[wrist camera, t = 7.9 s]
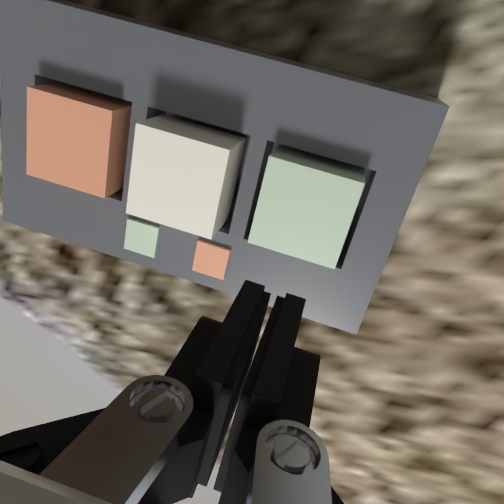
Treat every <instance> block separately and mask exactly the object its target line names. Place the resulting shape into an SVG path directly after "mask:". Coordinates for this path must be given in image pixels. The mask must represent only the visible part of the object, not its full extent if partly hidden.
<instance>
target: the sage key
mask: <svg viewBox="0 0 504 504" xmlns="http://www.w3.org/2000/svg"><path fill="white" fill-rule="evenodd" d="M364 185H365V168H363V167H360V166H356V165H353V164H349V163H346V162H342V161H339V160H335V159H332V158H328V157H325V156H321V155H317V154H314V153H310V152H307V151H303V150H300V149H296V148H293V147H289V146H286V145H282V144H279V145H278V146H277V147H276V149H275V150H274V151H273V152H272V153H271V154H270V155H269V158H268V162H267V166H266V170H265V174H264V178H263V182H262V186H261V190H260V194H259V198H258V202H257V206H256V210H255V214H254V218H253V222H252V226H251V230H250V234H249V238H248V243H251V244H254V245H257V246H260V247H264V248H267V249H270V250H273V251H277V252H280V253H283V254H286V255H290V256H293V257H296V258H299V259H302V260H306V261H309V262H312V263H315V264H319V265H322V266H325V267H328V268H332V269H335V267H336V264H337V262H338V259H339V256H340V253H341V250H342V247H343V245H344V242H345V239H346V236H347V233H348V230H349V228H350V225H351V222H352V219H353V216H354V213H355V211H356V208H357V205H358V202H359V199H360V196H361V194H362V191H363V188H364Z"/></svg>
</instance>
